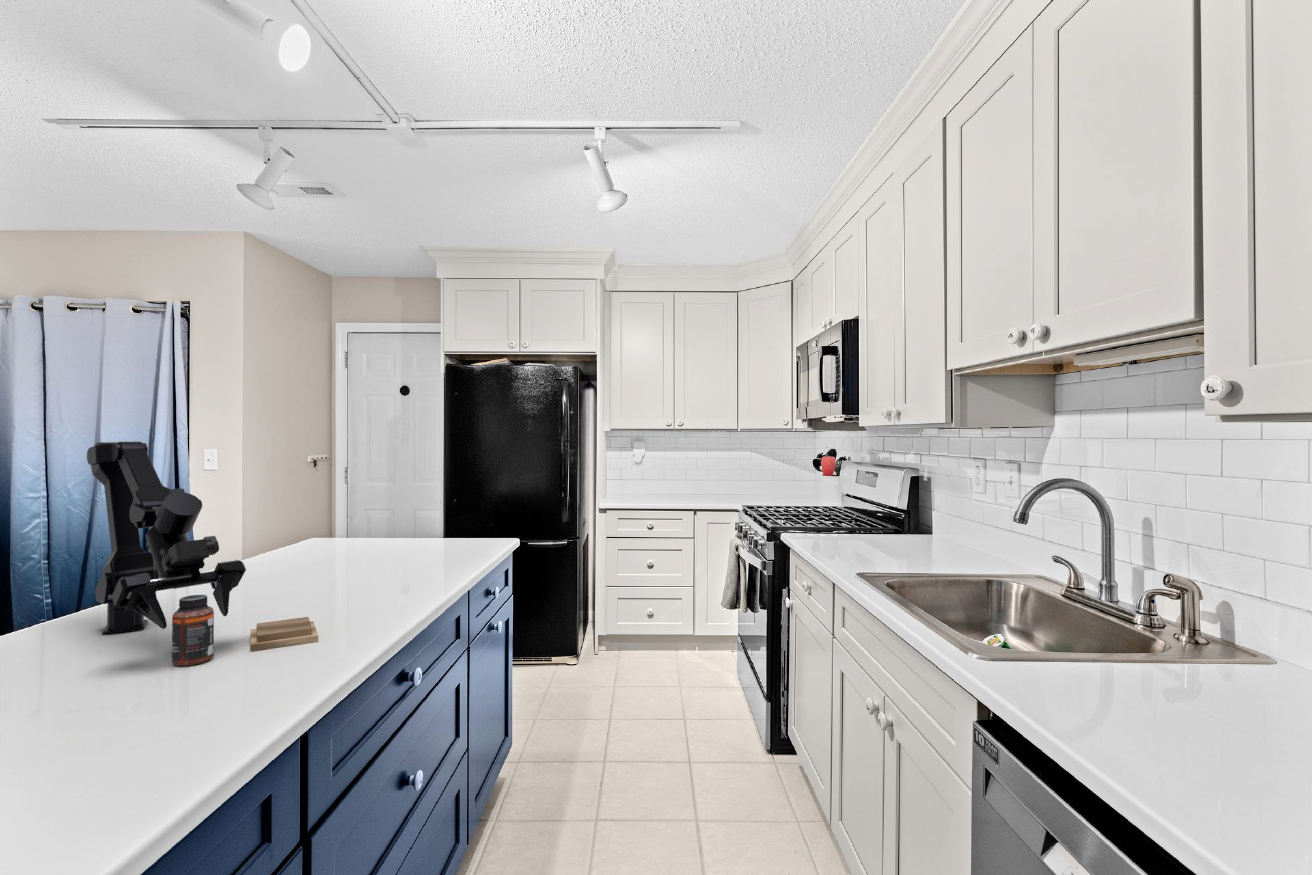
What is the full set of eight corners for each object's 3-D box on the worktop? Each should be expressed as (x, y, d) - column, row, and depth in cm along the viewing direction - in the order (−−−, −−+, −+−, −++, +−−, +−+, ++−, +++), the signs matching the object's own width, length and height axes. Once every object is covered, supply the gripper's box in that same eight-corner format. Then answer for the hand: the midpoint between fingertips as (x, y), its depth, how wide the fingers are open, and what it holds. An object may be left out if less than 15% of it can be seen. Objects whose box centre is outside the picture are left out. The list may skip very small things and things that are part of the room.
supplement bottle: (221, 657, 112) (222, 594, 112) (187, 669, 106) (188, 602, 106) (198, 653, 114) (198, 591, 114) (163, 664, 108) (164, 599, 108)
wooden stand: (250, 635, 125) (250, 622, 125) (313, 626, 131) (313, 614, 131) (250, 651, 115) (250, 638, 115) (318, 641, 121) (318, 628, 121)
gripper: (118, 529, 105) (143, 604, 99) (241, 517, 120) (269, 582, 114) (102, 570, 109) (124, 645, 103) (223, 554, 125) (248, 618, 119)
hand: (196, 620), depth 110 cm, fingers open, 9 cm apart
